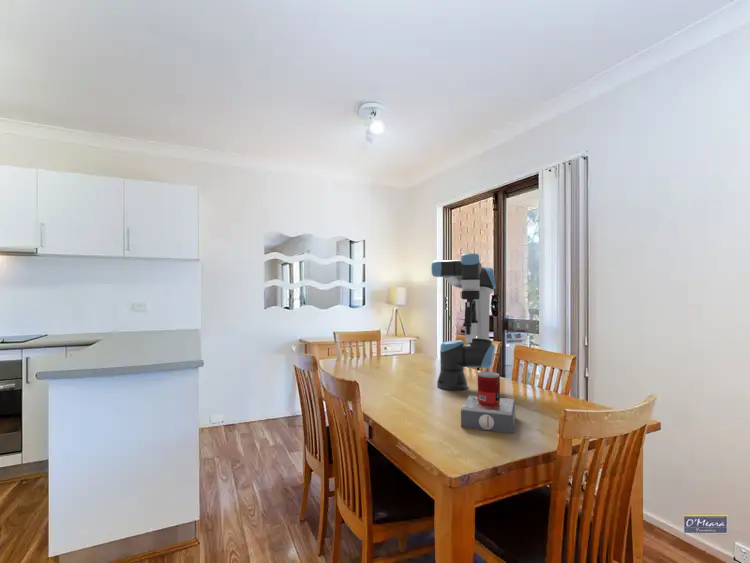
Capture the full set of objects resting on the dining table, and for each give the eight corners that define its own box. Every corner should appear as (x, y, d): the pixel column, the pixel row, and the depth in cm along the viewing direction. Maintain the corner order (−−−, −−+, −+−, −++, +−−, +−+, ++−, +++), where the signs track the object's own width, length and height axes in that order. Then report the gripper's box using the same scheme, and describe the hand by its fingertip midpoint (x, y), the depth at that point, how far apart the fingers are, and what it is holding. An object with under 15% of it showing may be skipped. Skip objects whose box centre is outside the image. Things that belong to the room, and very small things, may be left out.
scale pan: (469, 397, 159) (469, 394, 159) (513, 402, 153) (513, 399, 153) (462, 410, 143) (462, 406, 143) (511, 415, 137) (511, 412, 137)
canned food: (501, 406, 143) (500, 376, 143) (478, 405, 145) (478, 375, 145) (498, 400, 151) (498, 371, 151) (477, 399, 152) (477, 371, 153)
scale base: (468, 412, 159) (468, 397, 160) (515, 417, 153) (515, 402, 153) (460, 427, 142) (460, 411, 142) (513, 434, 135) (513, 417, 135)
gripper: (465, 289, 179) (466, 336, 179) (456, 290, 156) (456, 343, 156) (482, 289, 177) (483, 336, 176) (475, 290, 153) (476, 344, 153)
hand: (470, 340), depth 166 cm, fingers open, 13 cm apart
